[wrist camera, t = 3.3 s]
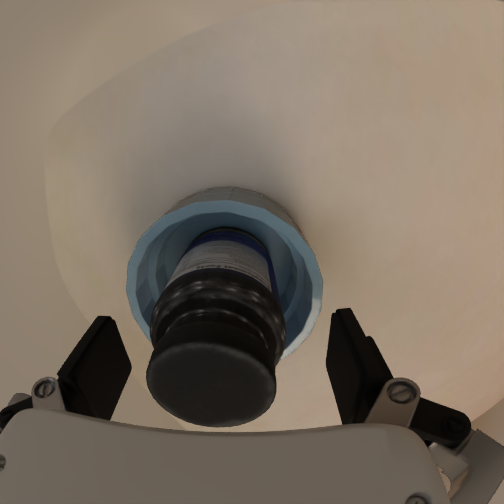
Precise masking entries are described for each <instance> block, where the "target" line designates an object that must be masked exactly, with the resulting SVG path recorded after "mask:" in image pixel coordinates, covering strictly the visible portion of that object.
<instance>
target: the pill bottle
mask: <svg viewBox="0 0 504 504" xmlns="http://www.w3.org/2000/svg"><path fill="white" fill-rule="evenodd" d="M286 334H287V332H286V327H285V319H284V316H283V311H282V306H281V301H280V297H279V292H278V287H277V282H276V278H275V273H274V268H273V264H272V260H271V258H270V255H269V253H268V250H267V248H266V247H265V246H264V244H263V243H262V242H261V241H260V240H259V239H258V238H257V237H255V236H254V235H252V234H251V233H249V232H247V231H244V230H242V229H239V228H235V227H218V228H214V229H210V230H207V231H205V232H203V233H201V234H200V235H199V236H197V237H196V238H195V239H194V240H193V241H192V242H191V243H190V245H189V246H188V248H187V249H186V250H185V252H184V254H183V256H182V257H181V259H180V260H179V262H178V264H177V266H176V268H175V270H174V272H173V273H172V275H171V277H170V279H169V281H168V283H167V284H166V286H165V288H164V290H163V292H162V293H161V295H160V297H159V299H158V300H157V302H156V304H155V306H154V309H153V313H152V315H151V320H150V338H151V342H152V345H153V348H154V350H153V352H152V355H151V359H150V361H149V365H148V368H147V371H146V380H147V386H148V388H149V391H150V393H151V394H152V396H153V398H154V399H155V400H156V402H157V403H158V404H159V405H160V406H161V407H163V408H164V409H165V410H166V411H168V412H169V413H171V414H172V415H174V416H175V417H177V418H180V419H182V420H184V421H186V422H189V423H193V424H195V425H201V426H207V427H232V426H238V425H241V424H245V423H248V422H250V421H253V420H255V419H256V418H258V417H259V416H261V415H262V414H263V413H265V412H266V411H267V410H268V409H269V408H270V406H271V404H272V403H273V401H274V398H275V395H276V376H275V366H276V365H277V364H278V362H279V360H280V359H281V357H282V355H283V351H284V349H285V344H286Z"/></svg>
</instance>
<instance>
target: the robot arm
mask: <svg viewBox="0 0 504 504" xmlns="http://www.w3.org/2000/svg"><path fill="white" fill-rule="evenodd" d="M326 368H327V372H328V375H329V378H330V382H331V385H332V389H333V392H334V396H335V399H336V403H337V406H338V410H339V414H340V417H341V421H342V424H343V425H336V426H327V427H318V428H309V429H298V430H285V431H269V432H200V431H184V430H172V429H162V428H153V427H146V426H138V425H132V424H126V423H120V422H114V421H110V419H111V417H112V415H113V412H114V410H115V407H116V405H117V403H118V400H119V398H120V395H121V393H122V390H123V388H124V386H125V384H126V381H127V379H128V377H129V375H130V372H131V369H132V366H131V362H130V360H129V357H128V355H127V352H126V350H125V347H124V344H123V342H122V339H121V336H120V333H119V331H118V328H117V325H116V322H115V320H113V319H112V318H111V317H110V316H98V317H97V318H96V319H95V320H94V322H93V323H92V324H91V326H90V327H89V329H88V330H87V331H86V333H85V334H84V335H83V337H82V338H81V340H80V341H79V342H78V344H77V345H76V347H75V348H74V350H73V351H72V352H71V354H70V355H69V357H68V358H67V360H66V361H65V362H64V364H63V365H62V367H61V368H60V370H59V371H58V373H57V375H58V376H59V378H58V380H56V379H55V378H53V377H45V378H42V379H40V380H38V381H37V382H36V383H35V384H34V385H33V388H32V392H31V393H32V396H31V397H29V398H27V399H24V400H22V401H19V402H17V403H15V404H12V405H10V406H7V407H6V408H4V409H2V411H1V412H0V504H488V503H489V501H490V500H491V498H492V496H493V495H494V493H495V492H496V490H497V489H498V487H499V486H500V484H501V482H502V480H503V479H504V446H502V445H501V444H499V443H498V442H496V441H495V440H494V439H492V438H491V437H489V436H488V435H486V434H485V433H483V432H482V431H480V430H479V429H477V430H476V431H474V430H473V429H472V428H471V422H470V420H469V418H468V417H467V416H466V415H465V414H464V413H462V412H460V411H457V410H454V409H452V408H449V407H446V406H443V405H440V404H437V403H435V402H432V401H429V400H427V399H424V398H421V397H420V394H421V392H420V388H419V387H418V385H417V384H416V383H415V382H413V381H412V380H410V379H407V378H402V377H401V378H393V376H392V374H391V372H390V370H389V368H388V366H387V364H386V362H385V360H384V358H383V357H382V355H381V353H380V351H379V349H378V347H377V345H376V343H375V342H374V340H373V338H372V337H371V336H367V337H366V336H365V334H364V332H363V330H362V328H361V326H360V325H359V323H358V321H357V319H356V317H355V315H354V313H353V312H352V310H351V308H344V309H337V310H336V313H332V316H331V325H330V333H329V342H328V349H327V357H326ZM437 466H439V467H440V468H441V469H442V470H443V471H442V473H443V474H445V475H446V476H447V477H448V478H449V479H450V482H451V487H450V491H449V492H448V493H447V490H446V487H445V485H444V482H443V480H442V477H441V474H440V472H439V469H438V467H437ZM408 498H409V499H408Z"/></svg>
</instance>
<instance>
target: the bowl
mask: <svg viewBox="0 0 504 504" xmlns="http://www.w3.org/2000/svg"><path fill="white" fill-rule="evenodd" d="M218 227H235V228H239V229H242V230H244V231H247V232H249V233H251V234H252V235H254V236H255V237H257V238H258V239H259V240H260V241H261V242H262V243H263V244H264V246H265V247H266V248H267V250H268V253H269V255H270V258H271V260H272V264H273V268H274V273H275V278H276V282H277V287H278V292H279V297H280V301H281V306H282V311H283V316H284V319H285V327H286V332H287V334H286V344H285V349H284V351H283V355H282V357H281V359H280V360H282V359H283V358H285V357H287V356H288V355H290V354H292V353H293V352H294V351H295V350H296V349H297V348H298V347H299V345H300V344H301V343H302V342H303V341H304V340H305V339H306V338H307V337H308V336H309V334H310V333H311V331H312V329H313V327H314V325H315V322H316V320H317V318H318V315H319V313H320V311H321V307H322V292H323V279H322V276H321V273H320V269H319V266H318V263H317V260H316V257H315V254H314V252H313V250H312V249H311V247H310V245H309V244H308V242H307V240H306V239H305V237H304V236H303V234H302V232H301V231H300V229H299V227H298V226H297V225H296V224H295V222H294V221H293V220H292V218H291V217H290V216H289V215H288V213H287V212H286V211H285V210H284V209H283V208H282V207H281V206H279V205H278V204H276V203H275V202H273V201H271V200H270V199H268V198H267V197H265V196H264V195H262V194H260V193H256V192H253V191H249V190H245V189H241V188H237V187H225V188H212V189H207V190H203V191H200V192H198V193H196V194H193V195H191V196H189V197H186V198H184V199H183V200H181V201H180V202H178V203H177V204H176V205H175V206H174V207H173V208H171V209H170V210H169V211H168V212H167V213H165V214H164V215H163V216H162V217H161V218H160V219H159V220H158V221H157V222H156V223H155V224H154V225H153V226H151V227H150V228H149V229H148V230H147V231H146V232H145V233H144V234H143V235H142V236H141V238H140V239H139V241H138V243H137V245H136V247H135V249H134V252H133V254H132V256H131V258H130V260H129V263H128V270H127V285H126V291H127V296H128V300H129V303H130V307H131V310H132V314H133V316H134V319H135V320H136V322H137V323H138V325H139V326H140V328H141V329H142V331H143V332H144V334H145V335H146V337H147V338H148V340H149V341H151V338H150V320H151V315H152V313H153V309H154V306H155V304H156V302H157V300H158V299H159V297H160V295H161V293H162V292H163V290H164V288H165V286H166V284H167V283H168V281H169V279H170V277H171V275H172V273H173V272H174V270H175V268H176V266H177V264H178V262H179V260H180V259H181V257H182V256H183V254H184V252H185V250H186V249H187V248H188V246H189V245H190V243H191V242H192V241H193V240H194V239H195V238H196V237H197V236H199V235H200V234H201V233H203V232H205V231H207V230H210V229H214V228H218ZM280 360H279V361H280Z"/></svg>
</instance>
